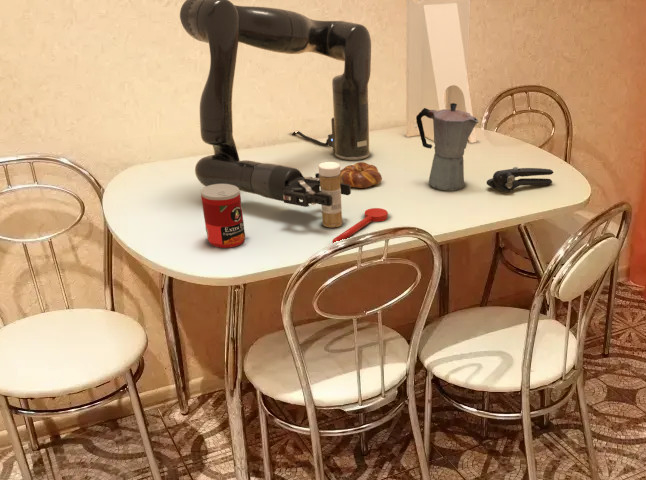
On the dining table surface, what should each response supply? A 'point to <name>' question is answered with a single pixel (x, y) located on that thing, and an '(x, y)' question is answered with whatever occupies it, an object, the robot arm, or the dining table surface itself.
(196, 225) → the dining table surface
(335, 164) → the sprinkles bottle
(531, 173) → the can opener
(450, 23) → the cream upright block
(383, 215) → the red spoon
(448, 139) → the moka pot
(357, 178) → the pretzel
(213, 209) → the canned food
